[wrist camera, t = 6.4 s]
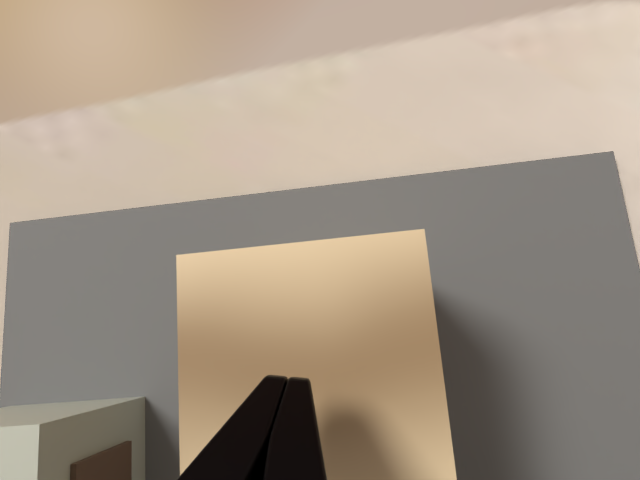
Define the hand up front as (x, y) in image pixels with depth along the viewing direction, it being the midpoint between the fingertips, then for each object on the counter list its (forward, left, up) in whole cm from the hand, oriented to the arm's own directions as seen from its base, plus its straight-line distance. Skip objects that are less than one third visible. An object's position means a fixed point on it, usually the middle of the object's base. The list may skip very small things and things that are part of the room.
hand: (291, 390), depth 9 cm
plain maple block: (0, 0, -10) cm, 10 cm away
